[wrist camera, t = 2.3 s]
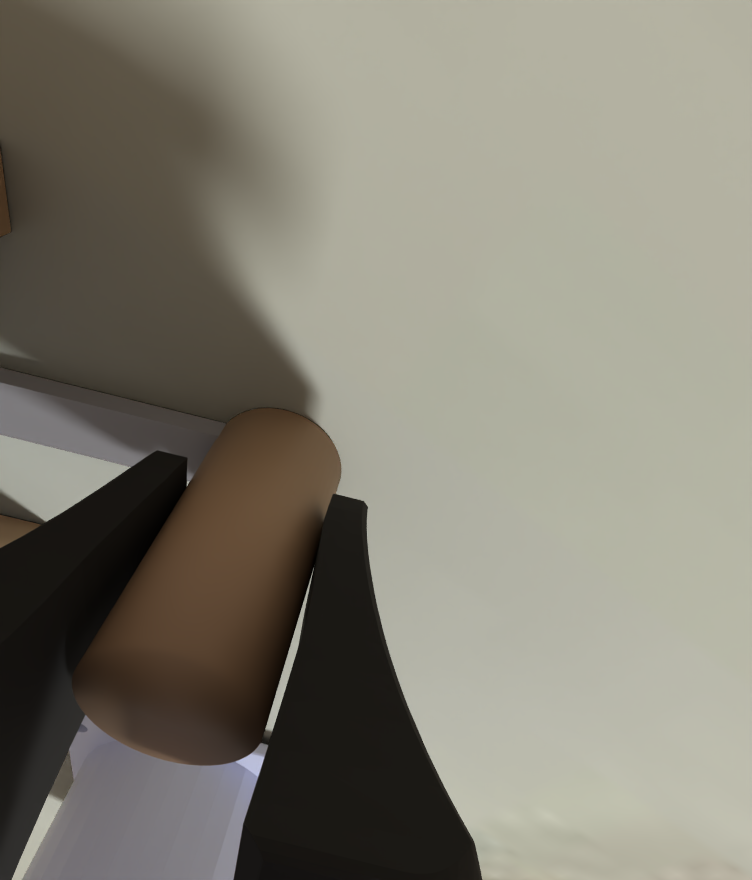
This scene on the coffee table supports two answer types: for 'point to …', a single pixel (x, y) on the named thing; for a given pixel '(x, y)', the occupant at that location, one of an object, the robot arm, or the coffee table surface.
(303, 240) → the coffee table surface
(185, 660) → the block with pull
